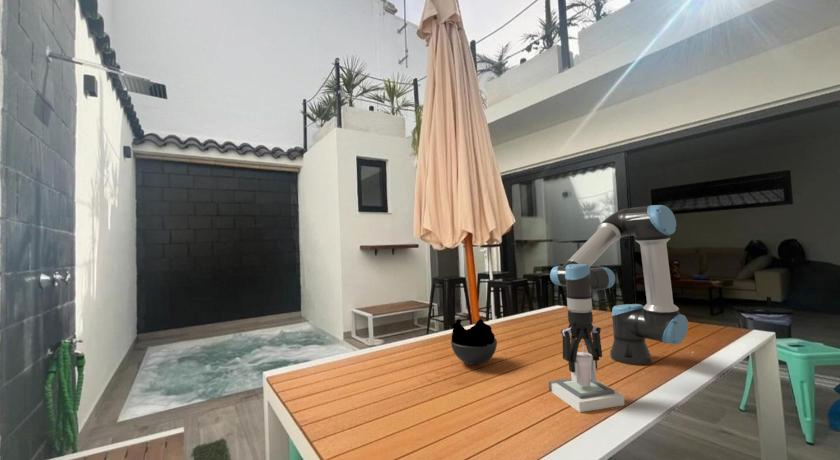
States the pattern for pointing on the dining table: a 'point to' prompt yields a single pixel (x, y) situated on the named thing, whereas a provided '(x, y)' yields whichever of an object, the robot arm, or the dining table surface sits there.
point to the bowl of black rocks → (473, 342)
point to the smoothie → (584, 367)
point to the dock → (586, 395)
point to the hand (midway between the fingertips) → (583, 380)
